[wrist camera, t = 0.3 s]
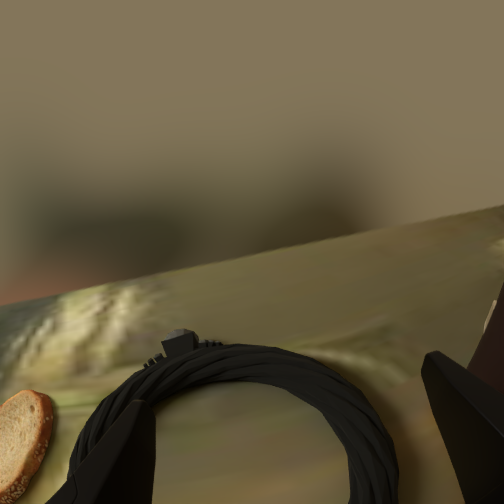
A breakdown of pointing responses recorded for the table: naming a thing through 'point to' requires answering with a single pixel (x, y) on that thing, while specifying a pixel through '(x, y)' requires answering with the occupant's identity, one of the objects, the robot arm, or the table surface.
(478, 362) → the vinegar
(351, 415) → the cable lock
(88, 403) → the table surface
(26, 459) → the bread slice
